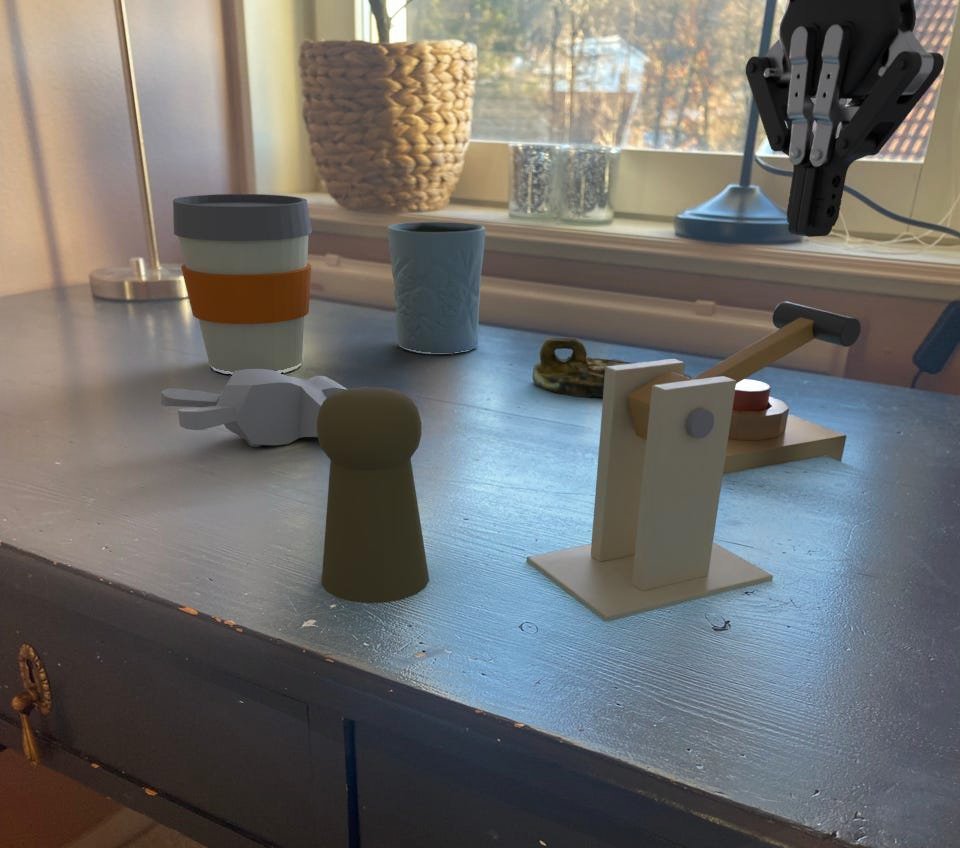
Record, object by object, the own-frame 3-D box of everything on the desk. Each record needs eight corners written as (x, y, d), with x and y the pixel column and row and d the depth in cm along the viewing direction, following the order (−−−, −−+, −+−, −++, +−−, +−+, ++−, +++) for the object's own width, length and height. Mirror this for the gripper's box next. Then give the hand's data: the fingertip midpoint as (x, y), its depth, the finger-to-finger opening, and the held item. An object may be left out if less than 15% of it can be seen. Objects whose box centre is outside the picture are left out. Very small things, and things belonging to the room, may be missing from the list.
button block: (751, 427, 81) (758, 379, 79) (841, 463, 73) (852, 411, 71) (632, 446, 76) (637, 395, 74) (716, 487, 68) (723, 431, 66)
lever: (794, 329, 54) (790, 288, 53) (862, 348, 51) (860, 304, 49) (620, 428, 52) (610, 388, 50) (678, 456, 48) (669, 413, 46)
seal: (688, 390, 95) (536, 380, 96) (695, 340, 93) (539, 330, 94) (694, 406, 86) (526, 394, 88) (701, 350, 84) (529, 340, 86)
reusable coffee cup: (342, 370, 95) (333, 203, 88) (219, 388, 89) (198, 209, 81) (288, 345, 104) (276, 192, 97) (172, 359, 98) (150, 196, 90)
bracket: (680, 542, 60) (705, 346, 54) (770, 595, 53) (809, 380, 48) (525, 575, 55) (534, 366, 49) (604, 637, 49) (625, 406, 43)
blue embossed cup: (415, 360, 99) (413, 233, 93) (375, 340, 107) (370, 222, 101) (501, 350, 104) (504, 229, 98) (456, 332, 111) (456, 218, 105)
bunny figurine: (386, 391, 74) (185, 389, 66) (380, 456, 76) (186, 462, 69) (340, 363, 81) (154, 359, 74) (336, 424, 83) (156, 426, 76)
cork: (330, 568, 56) (317, 375, 50) (435, 571, 55) (434, 378, 50) (310, 617, 50) (294, 408, 45) (427, 621, 50) (424, 411, 45)
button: (744, 399, 75) (748, 376, 74) (777, 411, 72) (781, 388, 71) (707, 404, 73) (710, 381, 72) (739, 417, 71) (743, 393, 70)
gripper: (1031, -138, 47) (941, 245, 55) (826, -99, 57) (777, 220, 66) (925, -157, 44) (847, 252, 52) (728, -113, 54) (690, 225, 62)
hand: (808, 234), depth 59 cm, fingers closed
